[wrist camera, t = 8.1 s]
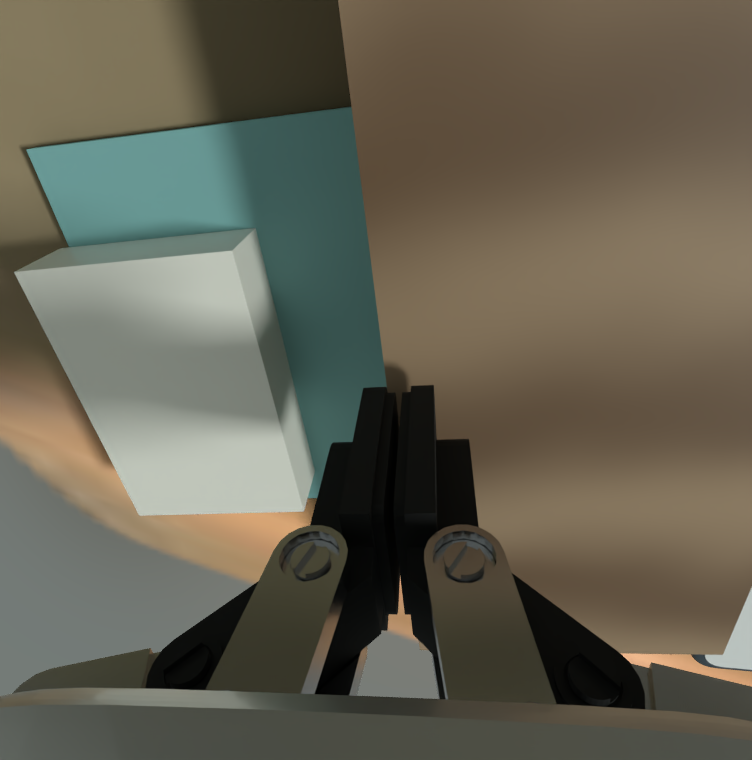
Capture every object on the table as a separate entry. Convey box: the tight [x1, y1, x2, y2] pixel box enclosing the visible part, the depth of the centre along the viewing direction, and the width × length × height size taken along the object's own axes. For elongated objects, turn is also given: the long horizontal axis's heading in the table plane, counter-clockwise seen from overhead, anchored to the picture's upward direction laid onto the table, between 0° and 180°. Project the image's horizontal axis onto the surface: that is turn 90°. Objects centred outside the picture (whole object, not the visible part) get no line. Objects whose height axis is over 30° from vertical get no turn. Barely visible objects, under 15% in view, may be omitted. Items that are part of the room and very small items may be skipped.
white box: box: [14, 228, 315, 515], centre depth 16 cm, size 9×6×2 cm, turn 7°
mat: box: [26, 107, 387, 498], centre depth 16 cm, size 13×9×1 cm
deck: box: [338, 0, 752, 655], centre depth 14 cm, size 20×10×4 cm, turn 7°
